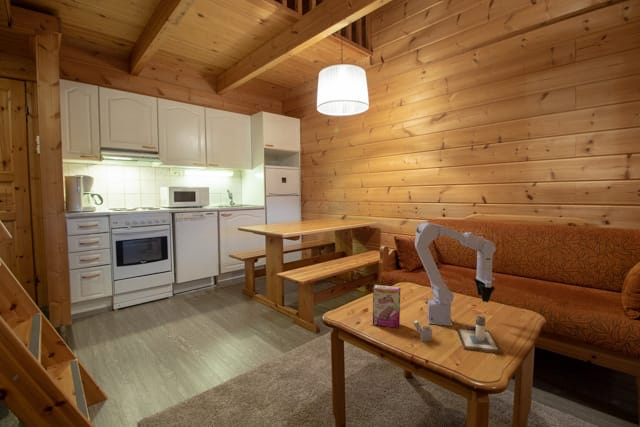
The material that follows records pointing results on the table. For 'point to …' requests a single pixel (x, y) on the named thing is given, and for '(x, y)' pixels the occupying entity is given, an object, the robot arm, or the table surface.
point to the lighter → (423, 332)
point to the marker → (480, 329)
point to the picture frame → (470, 343)
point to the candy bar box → (386, 306)
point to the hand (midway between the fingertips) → (483, 298)
